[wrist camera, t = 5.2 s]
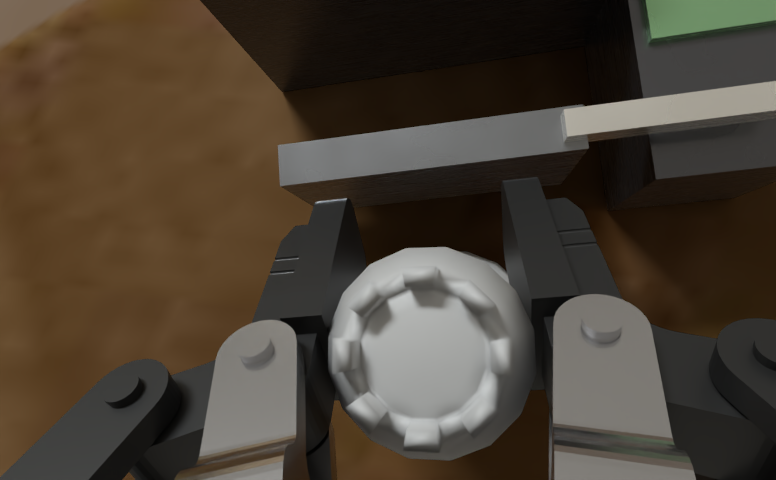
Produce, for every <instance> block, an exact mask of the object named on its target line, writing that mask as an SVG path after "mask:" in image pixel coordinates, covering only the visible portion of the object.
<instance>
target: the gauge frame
mask: <svg viewBox="0 0 776 480" xmlns="http://www.w3.org/2000/svg"><path fill="white" fill-rule="evenodd" d="M200 1H201V2H202V3H203V4H204V5H205V6H206V7H207V8H208V10H209V11H210V12H211V13H212V14H213V15H214V16H215V17H216V19H217V20H218V21H219V22H220V23H221V24H222V25H223V26H224V27H225V29H226V30H227V31H228V32H229V33H230V34H231V35H232V36H233V38H234V39H235V40H236V41H237V42H238V43H239V44H240V45H241V46H242V48H243V49H244V50H245V51H246V52H247V53H248V54H249V55H250V57H251V58H252V59H253V60H254V61H255V62H256V63H257V64H258V65H259V67H260V68H261V69H262V70H263V71H264V72H265V73H266V74H267V76H268V77H269V78H270V79H271V80H272V81H273V82H274V83H275V84H276V86H277V87H278V88H279V89H280V90H281V91H282V92H284V91H291V90H297V89H304V88H311V87H317V86H324V85H330V84H337V83H344V82H350V81H357V80H364V79H370V78H377V77H383V76H390V75H397V74H403V73H410V72H417V71H423V70H430V69H436V68H443V67H450V66H456V65H463V64H470V63H476V62H483V61H489V60H496V59H503V58H509V57H516V56H523V55H529V54H536V53H542V52H549V51H556V50H562V49H569V48H576V47H582V46H584V47H585V54H586V61H587V68H588V75H589V82H590V89H591V96H592V103H593V105H600V104H607V103H615V102H622V101H629V100H637V99H644V98H652V97H659V96H667V95H674V94H682V93H689V92H697V91H704V90H712V89H719V88H726V87H734V86H741V85H749V84H756V83H764V82H771V81H776V0H200ZM598 145H599V152H600V159H601V166H602V173H603V180H604V187H605V194H606V202H607V209H608V211H612V210H622V209H632V208H641V207H651V206H661V205H670V204H680V203H689V202H699V201H709V200H718V199H728V198H735V197H738V196H740V195H743V194H745V193H748V192H750V191H753V190H755V189H758V188H760V187H763V186H766V185H768V184H771V183H773V182H776V119H770V120H762V121H754V122H746V123H738V124H730V125H722V126H713V127H705V128H697V129H689V130H681V131H673V132H665V133H657V134H649V135H641V136H633V137H625V138H617V139H609V140H600V141H598Z"/></svg>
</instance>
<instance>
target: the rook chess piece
mask: <svg viewBox="0 0 776 480" xmlns="http://www.w3.org/2000/svg"><path fill="white" fill-rule="evenodd" d="M328 371H329V374H330V377H331V379H332V382H333V385H334V387H335V390H336V393H337V395H338V398H339V401H340V403H341V406H342V408H343V410H344V411H345V412H346V413H347V414H348V415H349V416H350V418H351V419H352V420H353V421H354V422H355V423H356V424H357V425H358V426H359V428H360V429H361V430H362V431H363V432H364V433H365V434H366V435H367V436H368V438H369V439H370V440H372V441H374V442H376V443H378V444H380V445H382V446H384V447H386V448H388V449H390V450H392V451H394V452H396V453H399V454H401V455H403V456H405V457H407V458H411V459H430V460H450V461H451V460H454V459H456V458H459V457H461V456H464V455H467V454H469V453H472V452H474V451H477V450H480V449H482V448H485V447H487V446H490V445H491V444H492V443H493V442H494V441H495V440H496V439H497V438H498V437H499V436H500V435H501V434H502V433H503V432H504V431H505V430H506V429H507V428H508V427H509V426H510V425H511V424H512V423H513V422H514V421H515V420H516V419H517V418H518V417H519V416H520V415H521V413H522V410H523V408H524V405H525V403H526V400H527V397H528V395H529V392H530V389H531V387H532V384H533V381H534V379H535V376H536V355H535V332H534V328H533V326H532V324H531V322H530V319H529V317H528V315H527V313H526V311H525V309H524V307H523V304H522V302H521V300H520V298H519V296H518V294H517V292H516V290H515V289H514V288H513V287H512V286H511V285H510V284H509V279H508V274H507V272H506V271H505V270H504V269H503V268H502V267H501V266H500V265H499V264H498V263H496V262H493V261H491V260H488V259H486V258H483V257H480V256H478V255H475V254H472V253H470V252H467V251H459V252H458V251H456V250H453V249H450V248H448V247H427V248H405V249H403V250H401V251H398V252H396V253H394V254H392V255H390V256H387V257H385V258H383V259H381V260H378V261H376V262H374V263H372V264H370V265H369V266H368V267H367V268H366V269H365V270H364V271H363V272H362V273H361V274H360V275H359V276H358V277H357V279H356V280H355V281H354V282H353V283H352V284H351V285H350V286H349V287H348V288H347V289H346V290H345V291H344V292H343V294H342V297H341V299H340V302H339V304H338V307H337V309H336V312H335V314H334V317H333V319H332V322H331V324H330V327H329V337H328Z"/></svg>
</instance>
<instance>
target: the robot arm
mask: <svg viewBox="0 0 776 480" xmlns="http://www.w3.org/2000/svg"><path fill="white" fill-rule="evenodd" d="M501 200H502V227H503V247H504V257H505V264H506V269H507V274H508V279H509V284H510V285H511V286H512V287H513V288H514V289H515V290H516V292H517V294H518V296H519V298H520V300H521V302H522V304H523V307H524V309H525V311H526V313H527V315H528V317H529V319H530V322H531V324H532V326H533V328H534V332H535V355H536V376H535V379H534V381H533V384H532V387H531V390H544V389H545V391H546V395H547V399H548V404H549V454H548V480H776V320H771V319H761V318H751V319H743V320H739V321H736V322H733V323H731V324H729V325H727V326H726V327H725V328H724V329H722V331H721V332H720V334H719V335H718V338H717V339H715V338H709V337H704V336H698V335H692V334H686V333H680V332H675V331H670V330H667V329H663V328H660V327H658V326H655V325H653V324H651V323H649V321H648V319H647V318H646V316H645V315H644V314H643V313H642V312H641V311H640V310H639V309H638V308H636V307H635V306H633V305H632V304H630V303H629V302H626V301H624V300H623V299H622V297H621V295H620V293H619V290H618V288H617V286H616V284H615V282H614V279H613V277H612V275H611V273H610V270H609V268H608V266H607V264H606V261H605V259H604V257H603V255H602V252H601V250H600V248H599V246H598V245H597V241H596V239H595V237H594V234H593V232H592V231H591V230H590V226H589V223H588V221H587V219H586V217H585V214H584V212H583V211H582V210H581V209H580V208H579V207H577V206H576V205H575V204H574V203H572V202H571V201H570V200H568V199H567V198H557V199H548V200H546V198H545V196H544V193H543V190H542V187H541V184H540V181H539V179H538V177H531V178H522V179H513V180H504V181H502V182H501ZM275 259H276V261H274V263H273V265H272V268H271V271H270V273H271V275H269V277H268V279H267V282H266V285H265V288H264V290H263V293H262V296H261V299H260V302H259V304H258V307H257V310H256V313H255V315H254V318H253V321H252V323H251V324H249V325H246V326H244V327H242V328H241V329H239V330H237V331H236V332H235V333H233V334H232V335H231V336H230V337H229V338H228V339H227V340H226V341H225V342H224V343H223V345H222V346H221V348H220V350H219V352H218V354H217V357H216V360H214V361H212V362H209V363H207V364H204V365H201V366H198V367H195V368H192V369H189V370H186V371H183V372H180V373H177V374H174V375H170V373H169V372H168V370H167V369H166V367H165V366H164V365H163V364H162V363H161V362H158V361H156V360H152V359H143V360H136V361H132V362H130V363H127V364H124V365H122V366H120V367H118V368H116V369H115V370H113V371H111V372H110V373H109V374H107V375H106V376H104V377H103V378H102V379H101V380H100V381H99V382H98V383H97V384H96V385H95V386H94V387H93V388H92V389H91V390H90V391H88V392H87V393H86V394H85V395H84V396H83V397H82V398H81V399H80V400H79V401H78V402H77V403H76V404H75V405H74V406H73V407H72V408H71V409H70V410H69V411H68V412H67V413H66V414H65V415H64V416H63V417H62V418H61V419H60V420H59V421H58V422H57V423H56V424H55V425H54V426H53V427H52V428H50V429H49V430H48V431H47V432H46V433H45V434H44V435H43V436H42V437H41V438H40V439H39V440H38V441H37V442H36V443H35V444H34V445H33V446H32V447H31V448H30V449H29V450H28V451H27V452H26V453H25V454H24V455H23V456H22V457H21V458H20V459H19V460H18V461H17V462H16V463H15V464H14V465H13V466H11V467H10V468H9V469H8V470H7V471H6V472H5V473H4V474H3V475H2V476H1V477H0V480H122V479H123V478H124V477H125V476H126V474H127V473H128V472H129V473H130V474H131V475H132V476H133V477H134V478H135V480H337V467H336V451H335V436H334V428H333V425H332V423H331V417H332V411H333V404H334V400H339V398H338V395H337V393H336V390H335V387H334V385H333V382H332V379H331V377H330V374H329V371H328V337H329V327H330V324H331V322H332V319H333V317H334V314H335V312H336V309H337V307H338V304H339V302H340V299H341V297H342V294H343V292H344V291H345V290H346V289H347V288H348V287H349V286H350V285H351V284H352V283H353V282H354V281H355V280H356V279H357V277H358V276H359V275H360V274H361V273H362V272H363V271H364V270H365V269H366V268H367V267H366V258H365V252H364V248H363V244H362V240H361V236H360V232H359V228H358V224H357V220H356V216H355V212H354V208H353V205H352V202H351V200H350V199H349V198H343V199H334V200H325V201H317V202H315V204H314V207H313V211H312V214H311V217H310V220H309V224H308V225H301V226H295V227H294V228H293V229H292V230H291V231H290V232H289V234H288V235H287V236H286V237H285V238H284V239H283V240H282V241H281V243H280V246H279V249H278V252H277V254H276V257H275Z"/></svg>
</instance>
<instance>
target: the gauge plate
mask: <svg viewBox="0 0 776 480" xmlns="http://www.w3.org/2000/svg"><path fill="white" fill-rule="evenodd" d="M770 119H776V81H771V82H764V83H756V84H749V85H741V86H734V87H726V88H719V89H712V90H704V91H697V92H689V93H682V94H674V95H667V96H659V97H652V98H644V99H637V100H629V101H622V102H615V103H607V104H600V105H592V106H585V107H583V104H581V105H574V106H566V107H559V108H551V109H544V110H537V111H529V112H522V113H514V114H507V115H499V116H492V117H485V118H477V119H470V120H462V121H455V122H447V123H440V124H433V125H425V126H418V127H410V128H403V129H395V130H388V131H381V132H373V133H366V134H358V135H351V136H343V137H336V138H329V139H321V140H314V141H306V142H299V143H292V144H284V145H278V156H279V175H280V186H281V187H282V188H284V189H286V190H287V191H289V192H291V193H292V194H294V195H296V196H297V197H299V198H301V199H302V200H304V201H305V202H307V203H309V204H310V205H312V206H314V204H315V202H317V201H325V200H334V199H343V198H349V199H350V200H351V202H352V205H353V208H355V207H364V206H373V205H382V204H391V203H400V202H409V201H418V200H426V199H435V198H444V197H453V196H462V195H471V194H480V193H488V192H497V191H501V182H502V181H504V180H513V179H522V178H531V177H538V179H539V181H540V184H541V187H542V186H551V185H559V184H562V182H563V181H564V180H565V179H566V177H567V176H568V175H569V173H570V172H571V171H572V170H573V168H574V167H575V166H576V164H577V163H578V162H579V161H580V159H581V158H582V157H583V155H584V154H585V153H586V152H587V150H588V149H589V144H588V142H592V141H600V140H609V139H617V138H625V137H633V136H641V135H649V134H657V133H665V132H673V131H681V130H689V129H697V128H705V127H713V126H722V125H730V124H738V123H746V122H754V121H762V120H770Z"/></svg>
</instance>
